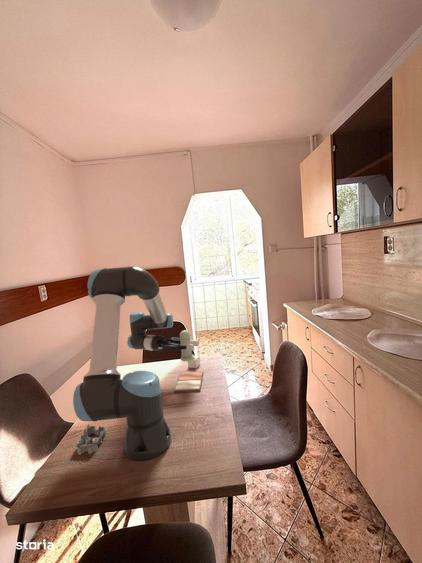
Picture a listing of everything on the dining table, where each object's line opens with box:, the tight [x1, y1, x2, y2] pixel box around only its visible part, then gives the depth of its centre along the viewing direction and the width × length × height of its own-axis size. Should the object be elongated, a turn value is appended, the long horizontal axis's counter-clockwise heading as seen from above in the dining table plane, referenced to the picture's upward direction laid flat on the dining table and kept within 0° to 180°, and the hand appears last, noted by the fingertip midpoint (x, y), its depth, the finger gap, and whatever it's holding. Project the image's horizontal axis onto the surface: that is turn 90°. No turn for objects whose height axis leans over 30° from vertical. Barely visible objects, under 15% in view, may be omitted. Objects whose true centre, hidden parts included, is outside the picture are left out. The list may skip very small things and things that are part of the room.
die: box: [187, 355, 201, 369], centre depth 146 cm, size 5×5×5 cm
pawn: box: [179, 329, 195, 362], centre depth 126 cm, size 6×6×14 cm
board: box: [173, 371, 204, 394], centre depth 127 cm, size 18×12×1 cm, turn 177°
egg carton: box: [73, 424, 107, 456], centre depth 89 cm, size 11×8×4 cm
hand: (195, 345), depth 124 cm, fingers closed on pawn, 5 cm apart
